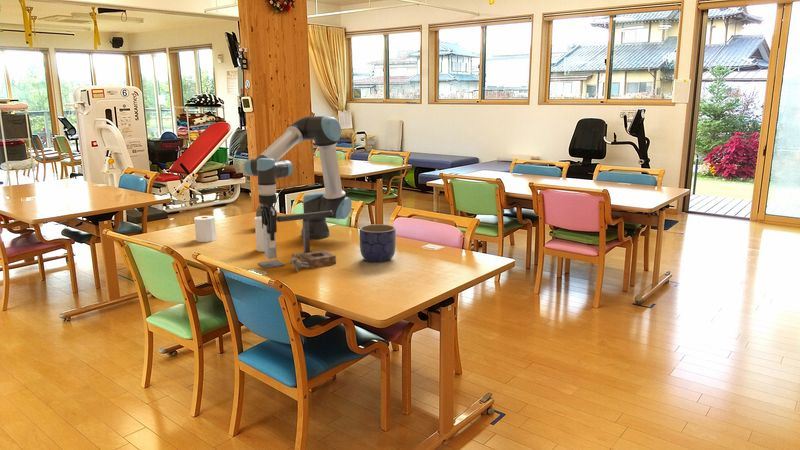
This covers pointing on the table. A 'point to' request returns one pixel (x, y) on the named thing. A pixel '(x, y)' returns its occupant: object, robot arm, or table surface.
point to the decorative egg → (258, 212)
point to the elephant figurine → (298, 263)
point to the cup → (259, 234)
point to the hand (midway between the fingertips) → (270, 246)
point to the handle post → (305, 238)
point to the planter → (377, 242)
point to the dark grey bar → (304, 216)
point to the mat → (271, 264)
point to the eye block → (318, 258)
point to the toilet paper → (205, 228)
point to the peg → (269, 252)
